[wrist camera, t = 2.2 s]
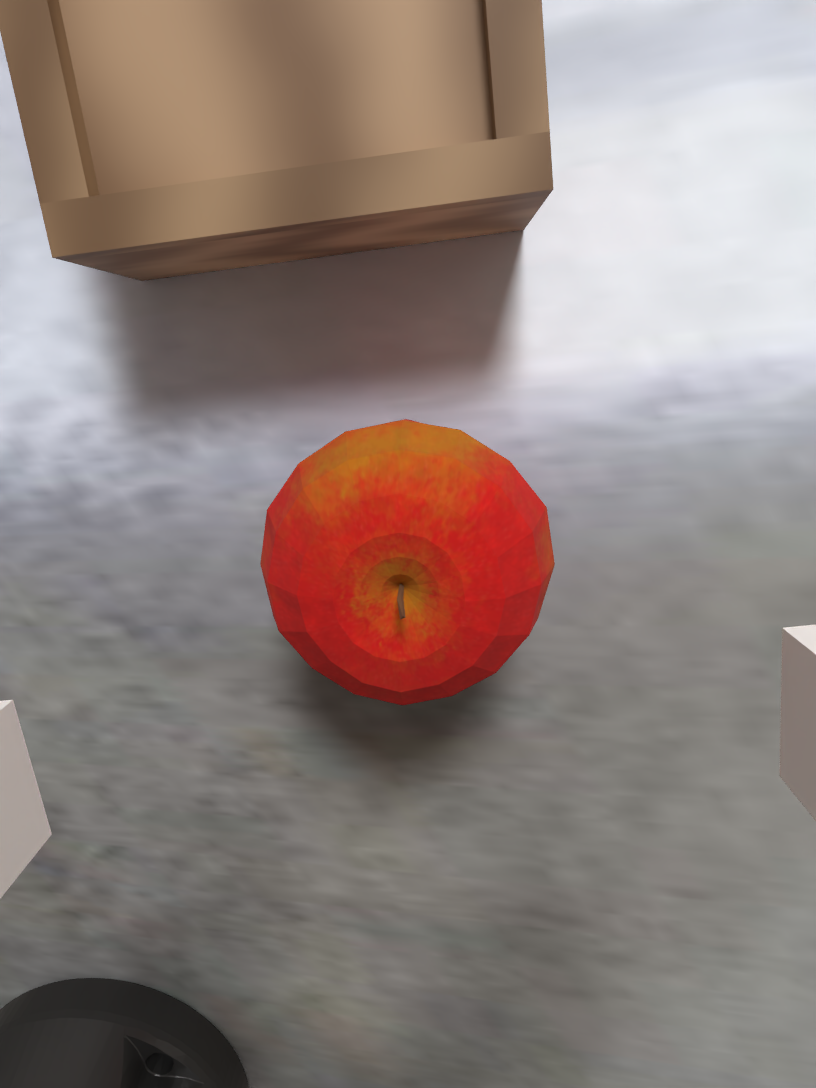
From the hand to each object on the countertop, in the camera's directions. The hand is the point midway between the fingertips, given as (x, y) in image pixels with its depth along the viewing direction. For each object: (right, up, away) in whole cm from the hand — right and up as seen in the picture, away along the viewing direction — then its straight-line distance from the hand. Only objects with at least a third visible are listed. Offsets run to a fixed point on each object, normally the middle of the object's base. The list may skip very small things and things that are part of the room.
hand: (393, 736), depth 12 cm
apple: (0, +5, +18) cm, 19 cm away
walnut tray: (-4, +22, +13) cm, 26 cm away
